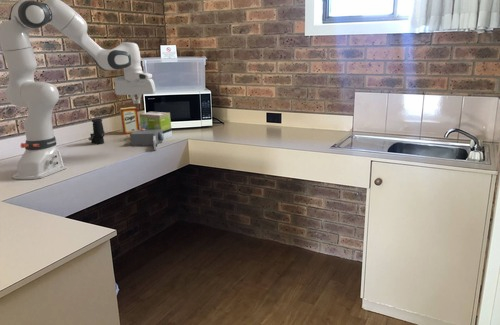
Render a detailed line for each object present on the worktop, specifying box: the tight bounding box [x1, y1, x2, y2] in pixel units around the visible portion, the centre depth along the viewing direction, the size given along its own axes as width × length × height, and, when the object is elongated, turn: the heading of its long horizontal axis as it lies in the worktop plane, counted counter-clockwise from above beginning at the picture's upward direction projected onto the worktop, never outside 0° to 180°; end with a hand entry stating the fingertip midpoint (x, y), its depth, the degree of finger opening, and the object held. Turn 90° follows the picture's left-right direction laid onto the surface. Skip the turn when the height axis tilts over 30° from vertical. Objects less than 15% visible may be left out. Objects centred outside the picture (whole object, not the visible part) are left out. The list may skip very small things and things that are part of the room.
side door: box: [152, 136, 158, 151], centre depth 214 cm, size 2×13×5 cm, turn 12°
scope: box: [88, 118, 106, 145], centre depth 230 cm, size 8×14×10 cm
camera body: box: [129, 128, 165, 147], centre depth 226 cm, size 12×16×7 cm
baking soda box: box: [119, 106, 140, 136], centre depth 256 cm, size 10×6×16 cm
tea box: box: [139, 111, 173, 141], centre depth 238 cm, size 15×10×15 cm, turn 63°
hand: (136, 103), depth 206 cm, fingers closed
